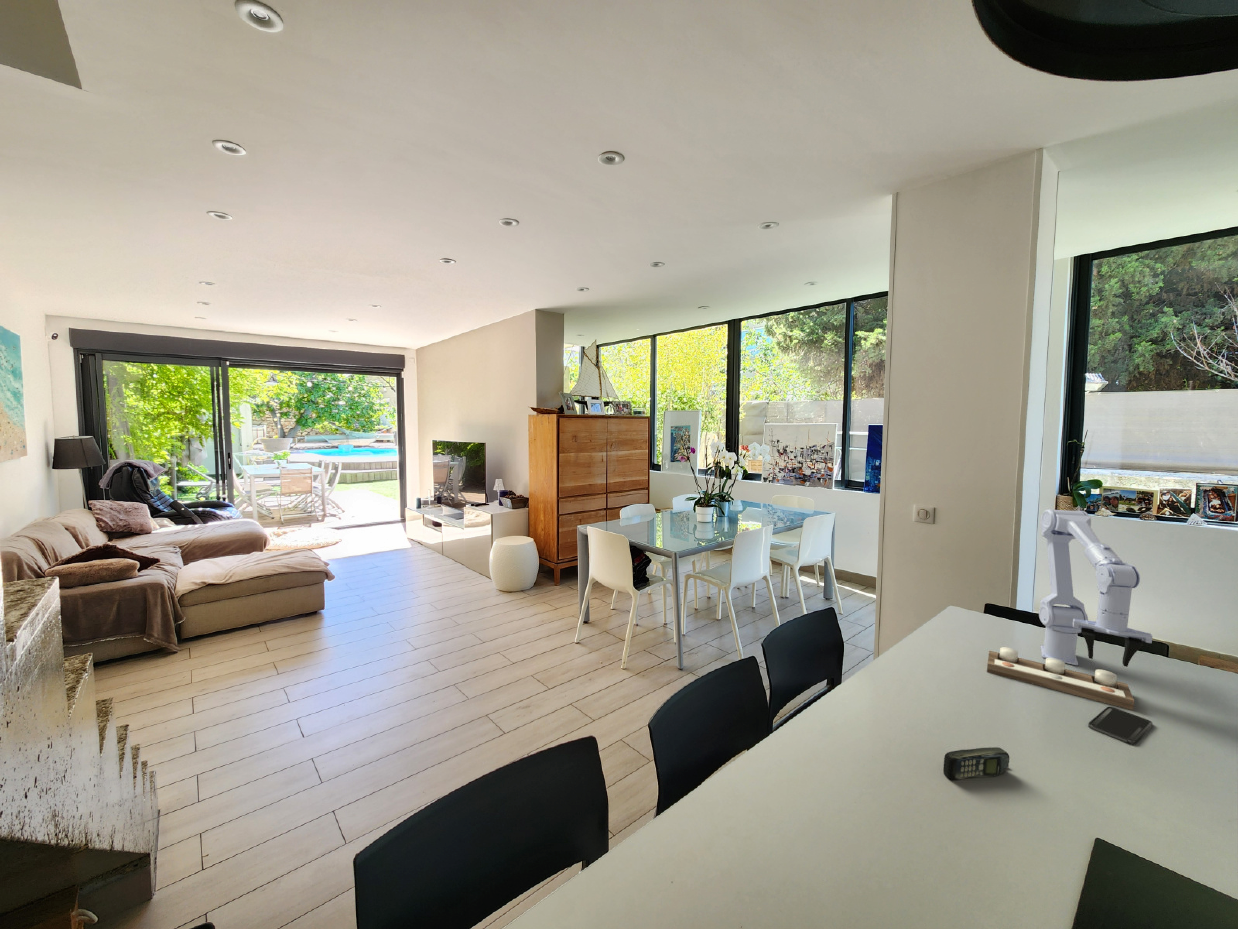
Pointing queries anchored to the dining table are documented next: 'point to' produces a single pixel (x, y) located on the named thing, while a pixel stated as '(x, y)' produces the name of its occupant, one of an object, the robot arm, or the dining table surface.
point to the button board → (1061, 686)
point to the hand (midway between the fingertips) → (1107, 661)
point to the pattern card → (1060, 678)
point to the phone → (1120, 725)
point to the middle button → (1055, 665)
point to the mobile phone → (975, 763)
